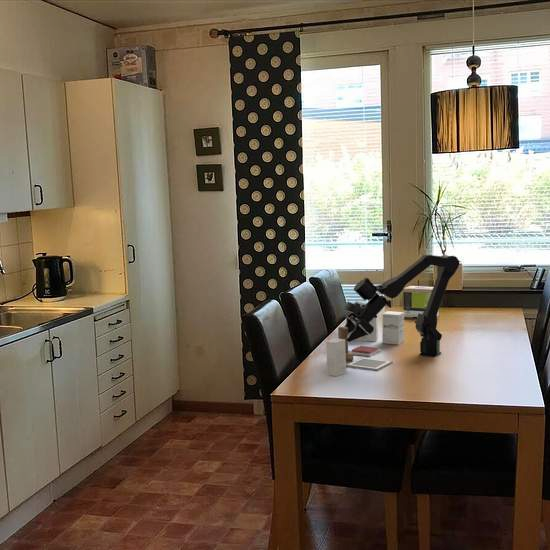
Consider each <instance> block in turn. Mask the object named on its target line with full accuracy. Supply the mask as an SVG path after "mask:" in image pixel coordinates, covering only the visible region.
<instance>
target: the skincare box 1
mask: <svg viewBox="0 0 550 550" xmlns="http://www.w3.org/2000/svg"><path fill="white" fill-rule="evenodd" d="M325 343H326V345H325V346H326V374H327V375H328V376H333V377H338V376H340V375H344V374H346V373H347V367H346V364H347V362H346V348H345V339H338V337H337V338H336V337H335V338H333V339H329V340H327V341H326V342H325Z"/></svg>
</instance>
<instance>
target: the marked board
mask: <svg viewBox="0 0 550 550" xmlns="http://www.w3.org/2000/svg"><path fill="white" fill-rule="evenodd" d="M393 363H394V361H393V360H392V361H391V360H384V359H375V358H369V357H368V358H367V357H359V358H357V359H355V360H353V362H348V363H346V368H354V369H361V370H367V371H373V372H374V371H376V372H378V371H381V370H382V369H384V368H386V367H388V366H389V365H390V366H391V365H392V364H393Z"/></svg>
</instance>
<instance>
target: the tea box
mask: <svg viewBox="0 0 550 550" xmlns="http://www.w3.org/2000/svg"><path fill="white" fill-rule="evenodd" d="M433 287H434V286H420V285H418V286H417V285H409V286H407V287H406V286H405V287H404V289H403V290H402V293H403V295H402V297H403V299H402V301H403V304H402V305H403V312H404V318H413V317H417V316H418V313H420V314H422V313H423V312H424V311H425V310H426V307H427V304H428V301H429V298H430V296H431V293H432V290H433ZM439 311H440V309H439V310H438V313H437V317H439Z"/></svg>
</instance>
